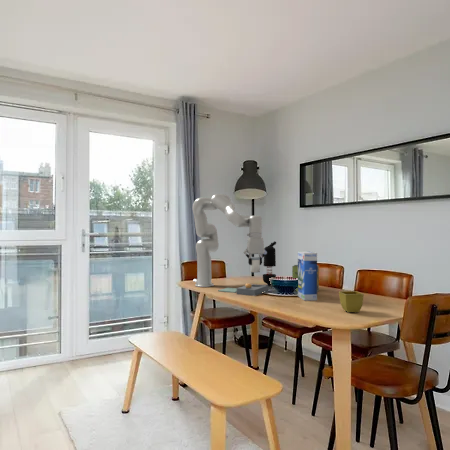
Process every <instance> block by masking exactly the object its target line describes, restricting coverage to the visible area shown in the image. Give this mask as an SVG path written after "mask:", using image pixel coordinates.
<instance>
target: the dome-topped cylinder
mask: <svg viewBox="0 0 450 450" xmlns="http://www.w3.org/2000/svg"><path fill="white" fill-rule="evenodd" d="M251 259H252V265H250V273H260V269H261V268H260V267H261V265H260V257H259V256H251Z"/></svg>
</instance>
